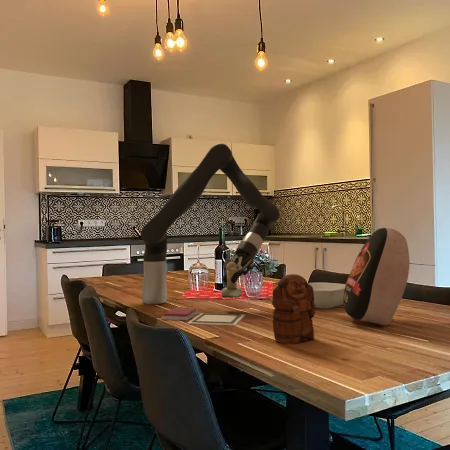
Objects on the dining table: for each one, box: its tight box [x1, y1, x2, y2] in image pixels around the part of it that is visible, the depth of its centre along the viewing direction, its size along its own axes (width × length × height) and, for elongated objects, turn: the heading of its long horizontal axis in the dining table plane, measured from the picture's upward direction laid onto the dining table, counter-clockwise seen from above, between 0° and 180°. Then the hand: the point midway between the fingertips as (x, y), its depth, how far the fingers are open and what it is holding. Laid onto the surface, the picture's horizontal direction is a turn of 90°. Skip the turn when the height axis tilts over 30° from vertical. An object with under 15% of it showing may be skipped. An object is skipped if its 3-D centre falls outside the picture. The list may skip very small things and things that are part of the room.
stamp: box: [221, 262, 242, 299], centre depth 169 cm, size 6×6×13 cm
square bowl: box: [307, 282, 346, 310], centre depth 179 cm, size 20×20×8 cm
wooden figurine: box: [271, 273, 316, 345], centre depth 126 cm, size 12×6×18 cm, turn 120°
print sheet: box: [186, 312, 246, 327], centre depth 155 cm, size 16×16×1 cm
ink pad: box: [161, 307, 199, 321], centre depth 161 cm, size 9×12×2 cm
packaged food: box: [343, 227, 410, 326], centre depth 147 cm, size 22×20×30 cm
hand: (228, 281), depth 167 cm, fingers closed on stamp, 3 cm apart
